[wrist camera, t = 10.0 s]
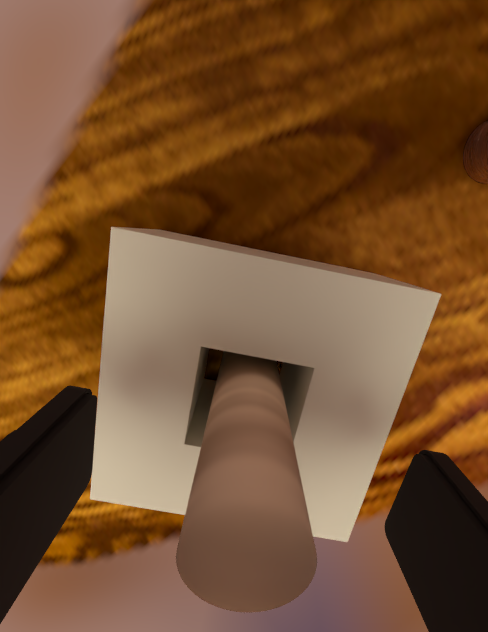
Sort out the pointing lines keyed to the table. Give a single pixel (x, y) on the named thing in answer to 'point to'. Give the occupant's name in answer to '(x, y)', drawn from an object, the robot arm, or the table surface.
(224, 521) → the birch pin
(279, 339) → the hole block
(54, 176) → the table surface
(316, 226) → the table surface
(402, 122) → the table surface
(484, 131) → the steel stub
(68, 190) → the table surface
